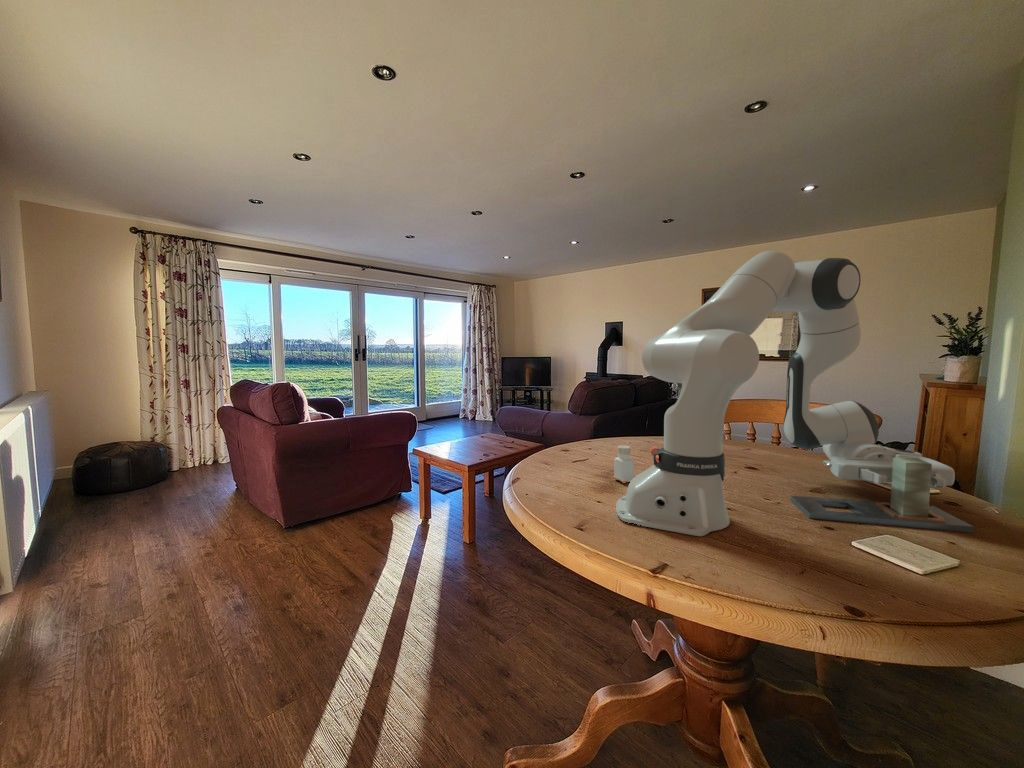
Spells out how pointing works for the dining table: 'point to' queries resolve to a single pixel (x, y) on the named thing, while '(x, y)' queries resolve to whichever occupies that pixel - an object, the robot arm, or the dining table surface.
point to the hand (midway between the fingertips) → (911, 482)
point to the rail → (877, 514)
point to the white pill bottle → (624, 464)
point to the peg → (910, 487)
